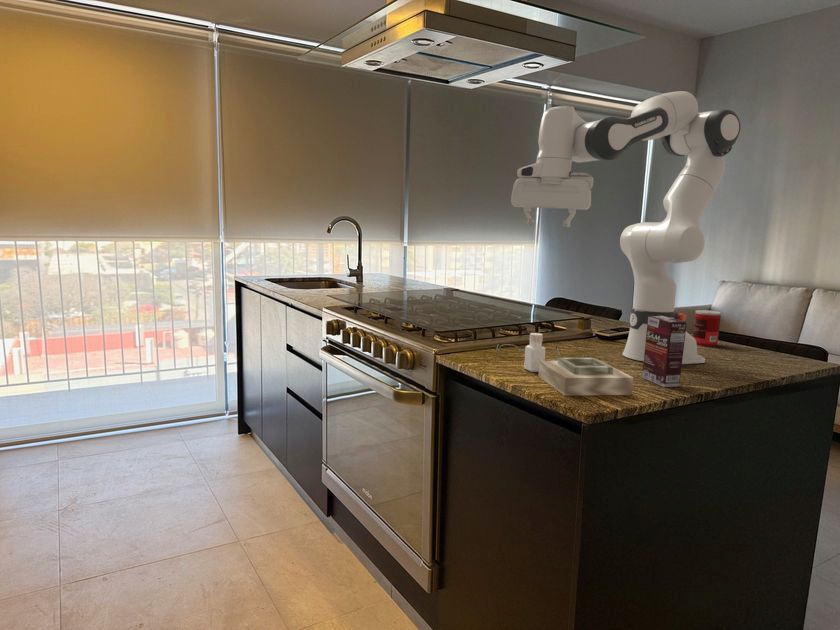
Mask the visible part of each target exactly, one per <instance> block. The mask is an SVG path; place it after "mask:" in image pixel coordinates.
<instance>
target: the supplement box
mask: <svg viewBox="0 0 840 630" xmlns="http://www.w3.org/2000/svg"><path fill="white" fill-rule="evenodd" d="M686 332H687V321H686V320H685V321H682V320H677V319H673V318H669V317H665V316H648V322H647V332H646V342H645V353H644V361H643V365H642V373H641V375H642V376H641V378H642V379H643V380H646V381H649V382H651V383H653V384H656V385H658V386H661V388H675V387H681V386H680V384H681V376H682V375H681V374H682V366H683V364H682V359H683V350H684V342H685V333H686Z"/></svg>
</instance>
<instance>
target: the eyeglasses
mask: <svg viewBox="0 0 840 630" xmlns="http://www.w3.org/2000/svg"><path fill="white" fill-rule="evenodd" d="M504 346H511V344H509V343H508V344H507V343H506V344H502V345H500V346H499V345H497V347H496V349H495V352H497V353H498V356H500V355H501V354H500V349H501V347H504ZM512 346H514V347H515V348H517V345H514V344H512ZM498 347H499V348H498ZM543 347H544V348H545V349H546V348H547V349H552V350H554V351H555V352H556V358H555V359H554V361H557V360H558V358H559V357H561V354H560V350H559V347H558V344H555V348H556V349H555V348H553V347H551V346H550V347H547V346H543ZM517 351H518V352H517V355H516V356H514V358H516V357H518V356H519V354H520V352H525V349H519V348H517ZM558 356H559V357H558Z"/></svg>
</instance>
